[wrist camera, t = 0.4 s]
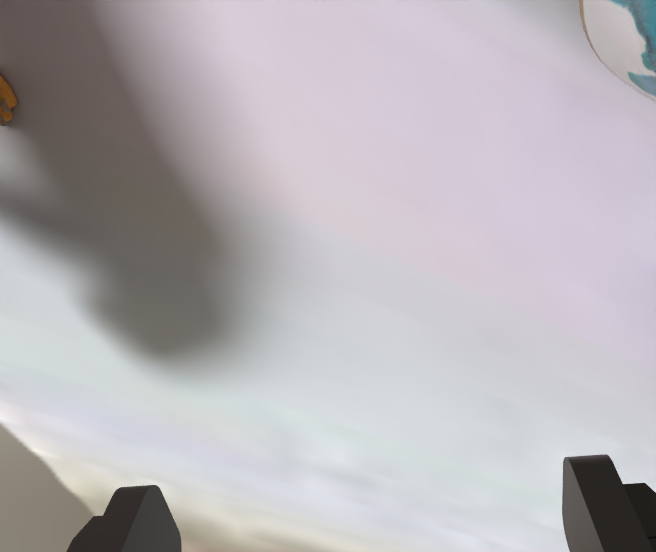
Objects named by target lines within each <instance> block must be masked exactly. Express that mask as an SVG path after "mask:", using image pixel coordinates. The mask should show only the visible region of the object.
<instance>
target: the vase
mask: <svg viewBox="0 0 656 552" xmlns="http://www.w3.org/2000/svg"><path fill="white" fill-rule="evenodd" d="M579 1H580V15H581V20H582V24H583V28H584V32H585V34H586V36H587V39H588V41H589V43H590V46H591V48H592V49H593V51H594V52H595V54H596V55H597V57H598V58H599V60H600V61H601V62H602V63H603V64H604V65H605V66H606V67H607V68H608V69H609V70H610V71H611V72H612V73H613V74H614V75H615V76H616V77H618V78H619V79H620V80H622V81H623V82H625V83H626V84H627V85H629V86H630V87H632V88H633V89H635V90H636V91H638V92H639V93H641V94H642V95H644V96H646V97H648V98H649V99H651V100H653V101H656V0H579Z"/></svg>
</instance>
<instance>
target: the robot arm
mask: <svg viewBox="0 0 656 552" xmlns="http://www.w3.org/2000/svg"><path fill="white" fill-rule="evenodd" d="M562 515H563V524H564V530H565V535H566V539H567V543H568V547H569V550H570V552H656V493H655V492H654V491H653V490H652V489H651V488H650V487H649V486H648V485H647V484H646V483H636V484H622V481H621V479H620V477H619V475H618V473H617V471H616V468H615V466H614V464H613V462H612V460H611V459H610V457H609V456H608V455H591V456H577V457H565V458H564V462H563V500H562ZM67 552H181V537H180V533H179V530H178V528H177V526H176V523H175V521H174V519H173V517H172V514H171V512H170V510H169V508H168V505H167V503H166V501H165V499H164V496H163V494H162V492H161V490H160V488H159V487H158V486H156V485H147V486H133V487H121V488H119V489H117V490H116V491H115V493H114V494H113V496H112V498H111V500H110V502H109V504H108V506H107V508H106V511H105V513H104V515H103V516H94V517H93V518H92V519H91V520H90V521H89V522H88V523H87V524H86V525H85V526H84V528H83V529H82V530H81V531H80V532H79V533H78V534H77V535H76V537H74V539H73V540H72V542H71V544H70V546H69V548H68V550H67Z"/></svg>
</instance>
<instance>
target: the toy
mask: <svg viewBox="0 0 656 552" xmlns="http://www.w3.org/2000/svg"><path fill="white" fill-rule="evenodd" d="M16 104H17V99H16V97H15V96H14V94H13V92H12V90H11V88H10V86H9V85H8V84H7V83H6V81H5V80H4V79H3V78H2V77H1V76H0V125H2V126H7V124H6V123H5V122H7V121H9V120H11V119H12V116H13V113H12V110H11V108H13V107H15V106H16Z"/></svg>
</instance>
